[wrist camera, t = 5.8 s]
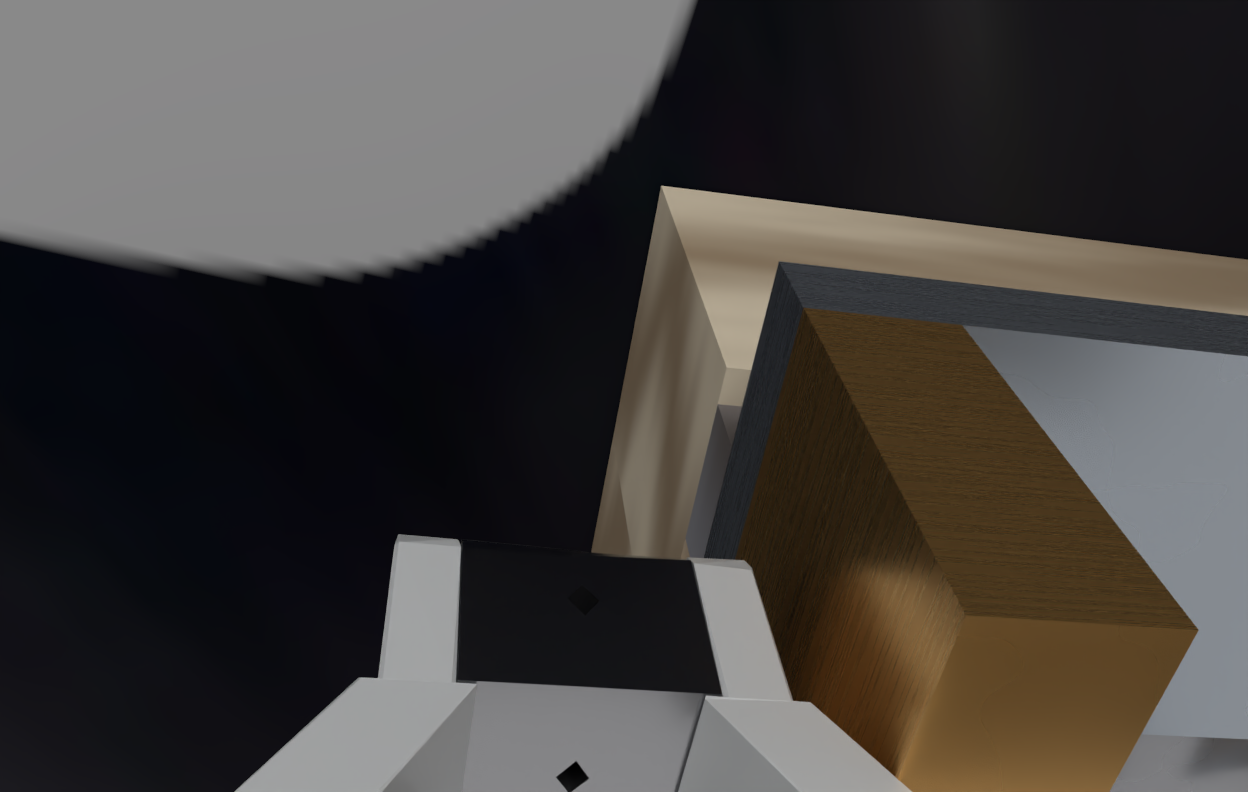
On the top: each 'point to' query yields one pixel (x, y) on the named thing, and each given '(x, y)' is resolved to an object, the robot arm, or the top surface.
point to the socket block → (735, 310)
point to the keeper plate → (996, 522)
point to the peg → (1185, 765)
